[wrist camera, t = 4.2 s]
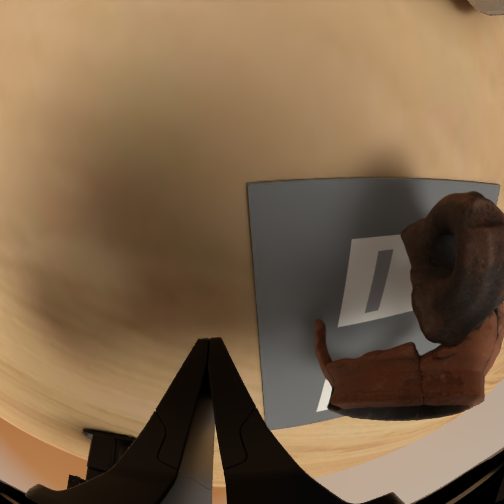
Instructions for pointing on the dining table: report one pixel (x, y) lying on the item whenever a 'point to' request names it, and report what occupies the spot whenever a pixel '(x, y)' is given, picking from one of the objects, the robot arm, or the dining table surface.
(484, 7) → the stereo radio cassette player
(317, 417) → the label mat
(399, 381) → the brown curved piece
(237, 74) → the dining table surface
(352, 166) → the dining table surface
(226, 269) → the dining table surface
